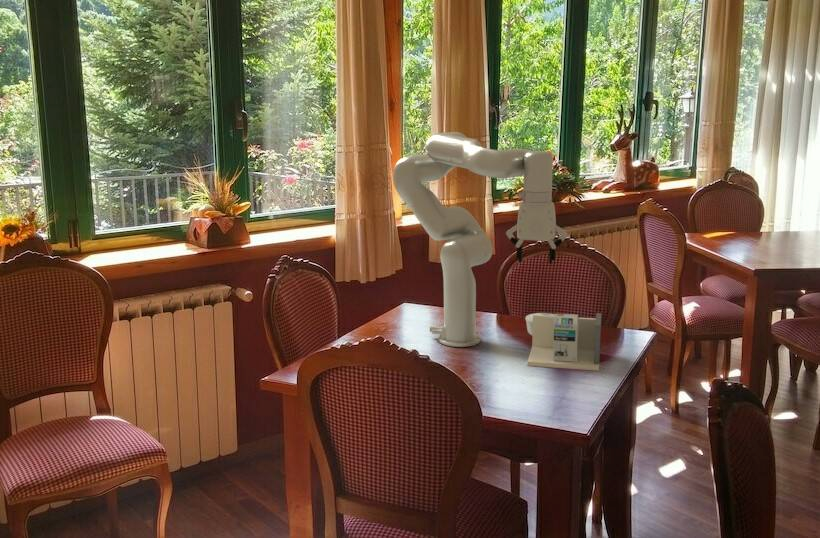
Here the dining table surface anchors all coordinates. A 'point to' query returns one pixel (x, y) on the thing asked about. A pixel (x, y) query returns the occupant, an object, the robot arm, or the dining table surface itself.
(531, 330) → the ramekin
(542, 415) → the dining table surface
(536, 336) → the cream open angled stand
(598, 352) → the bookend
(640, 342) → the dining table surface
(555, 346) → the light bulb box
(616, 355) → the dining table surface
